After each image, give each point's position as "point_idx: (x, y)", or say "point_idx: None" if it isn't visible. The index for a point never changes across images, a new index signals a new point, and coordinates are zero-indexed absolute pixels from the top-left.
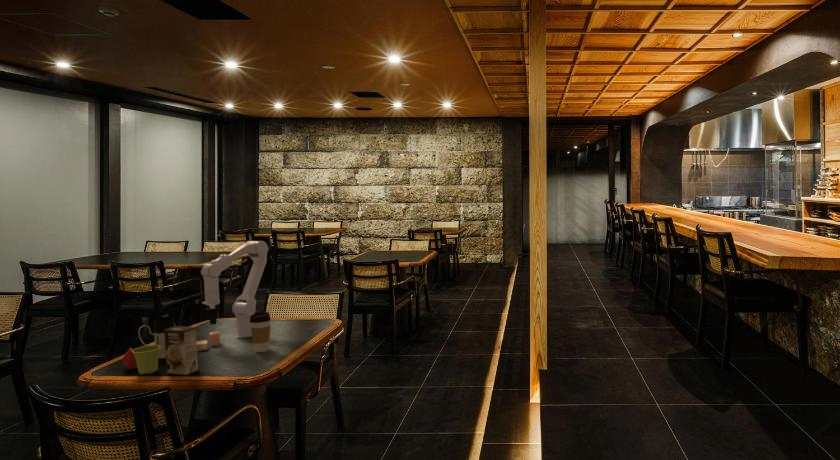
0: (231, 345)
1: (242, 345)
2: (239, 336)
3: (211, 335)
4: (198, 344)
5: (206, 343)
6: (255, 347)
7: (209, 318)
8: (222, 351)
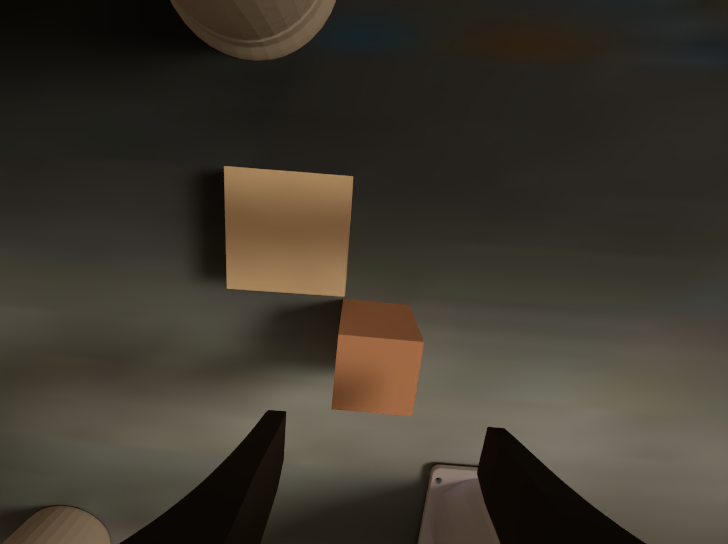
0: None
1: None
2: (447, 485)
3: (338, 345)
4: (228, 222)
5: (227, 283)
6: (14, 534)
7: (222, 466)
8: (147, 355)
